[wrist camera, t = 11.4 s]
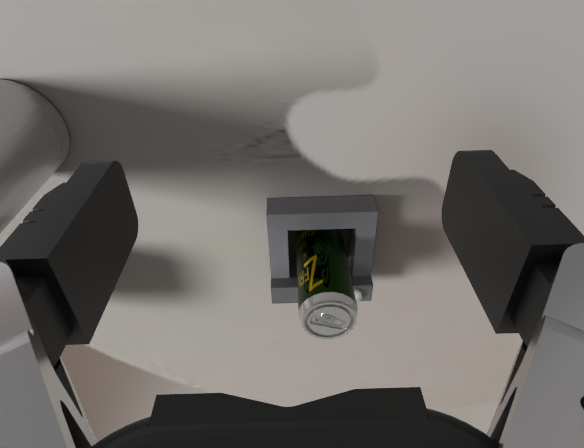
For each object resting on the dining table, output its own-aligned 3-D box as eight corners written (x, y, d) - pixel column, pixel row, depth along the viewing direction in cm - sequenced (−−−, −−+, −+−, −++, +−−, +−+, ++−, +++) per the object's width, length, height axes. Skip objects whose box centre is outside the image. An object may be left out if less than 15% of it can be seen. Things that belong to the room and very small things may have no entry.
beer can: (352, 228, 47) (370, 310, 37) (329, 261, 49) (340, 346, 40) (308, 211, 45) (315, 293, 36) (287, 247, 48) (288, 331, 38)
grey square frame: (273, 275, 51) (272, 307, 47) (267, 198, 44) (265, 227, 40) (365, 272, 51) (372, 304, 46) (373, 195, 44) (382, 224, 40)
